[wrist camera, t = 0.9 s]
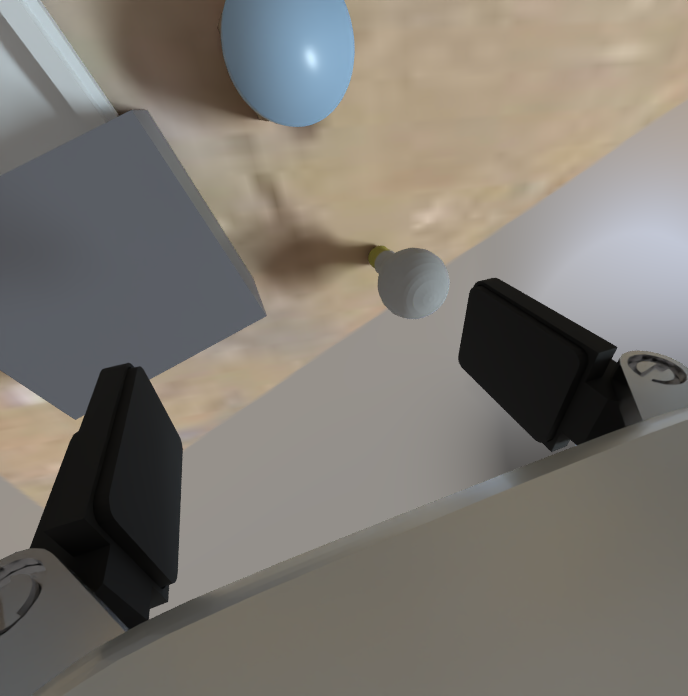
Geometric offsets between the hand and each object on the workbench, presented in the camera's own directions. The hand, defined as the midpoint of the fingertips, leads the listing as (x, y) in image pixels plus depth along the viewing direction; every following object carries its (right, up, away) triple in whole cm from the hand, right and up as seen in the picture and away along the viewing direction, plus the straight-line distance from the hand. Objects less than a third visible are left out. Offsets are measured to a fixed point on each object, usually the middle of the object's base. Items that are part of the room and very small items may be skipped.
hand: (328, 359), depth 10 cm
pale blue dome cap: (-3, +17, +9) cm, 20 cm away
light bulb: (+3, +9, +23) cm, 25 cm away
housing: (-16, +7, +16) cm, 24 cm away
